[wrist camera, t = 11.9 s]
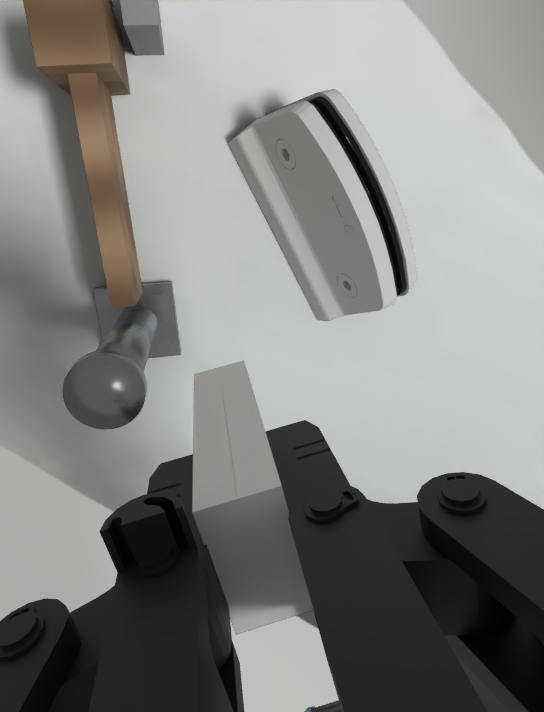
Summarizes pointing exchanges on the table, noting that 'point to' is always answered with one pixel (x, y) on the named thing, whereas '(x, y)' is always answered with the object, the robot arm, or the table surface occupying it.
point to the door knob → (122, 357)
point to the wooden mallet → (93, 119)
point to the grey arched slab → (329, 204)
